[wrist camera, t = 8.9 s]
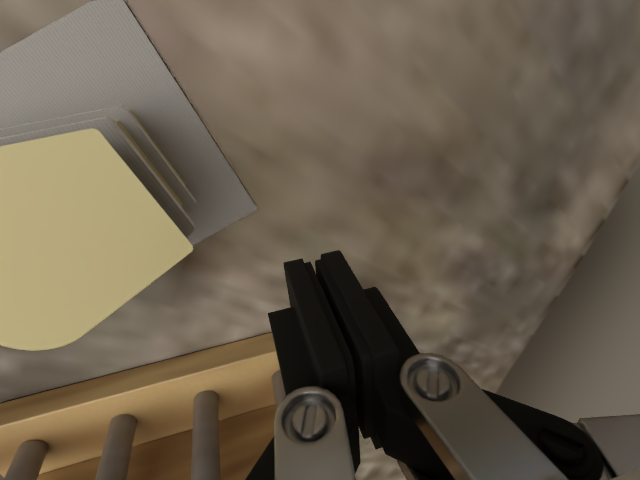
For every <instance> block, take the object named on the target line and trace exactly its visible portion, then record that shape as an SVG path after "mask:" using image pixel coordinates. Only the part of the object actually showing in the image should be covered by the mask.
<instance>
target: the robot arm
mask: <svg viewBox="0 0 640 480" xmlns="http://www.w3.org/2000/svg"><path fill="white" fill-rule="evenodd" d="M315 267H316V273H315V271H314V269H313V266H312V264H311V262H307V263H304V261H303V259H298V260H293V261H289V262H284V270H285V276H286V282H287V288H288V294H289V300H290V306H291V308H287V309H283V310H279V311H275V312H271V313H268V316H269V321H270V325H271V330H272V335H273V339H274V344H275V348H276V353H277V358H278V362H279V367H280V371H281V376H282V380H283V385H284V390H285V394H286V397H285V398H284V399H283V400H282V401H281V402H280V404H279V406H278V408H277V410H276V413H275V420H274V437H273V438H272V440H271V441H270V443H269V444H268V446H267V447H266V449H265V450H264V452H263V453H262V455H261V456H260V458H259V459H258V461H257V462H256V464H255V465H254V467H253V468H252V470H251V471H250V473H249V474H248V476H247V477H246V479H245V480H356V477H355V473H356V471H357V469H358V466H359V464H360V446H359V428H360V431H361V433H362V436H363V438H364V439H366V438H369V437H371V439H372V442H373V444H374V447H375V449H378V448H382V447H383V449H384V452H385V454H387V455H389V456H391V457H393V458H395V459H397V461H398V464H399V466H400V468H401V470H402V472H403V474H404V475H405V477H406V479H407V480H640V414H636V415H622V416H607V417H593V418H580V419H579V421H578V423H571V422H568V421H566V420H565V419H562V418H560V417H557V416H555V415H552V414H549V413H546V412H544V411H541V410H538V409H535V408H533V407H530V406H527V405H525V404H521V403H519V402H516V401H514V400H511V399H508V398H505V397H503V396H500V395H497V394H494V393H492V392H489V391H486V390H483V389H481V388H480V387H479V386H478V385H477V384H476V383H475V382H474V381H473V380H472V379H471V378H470V377H469V376H468V375H467V374H466V372H465V371H464V370H463V369H462V368H461V367H460V366H459V365H457V364H456V363H455V362H454V361H452V360H451V359H449V358H447V357H445V356H443V355H439V354H434V353H421V354H420V353H419V352H418V350H417V348H416V347H415V345H414V344H413V342H412V341H411V339H410V338H409V336H408V335H407V333H406V331H405V330H404V328H403V327H402V325H401V324H400V322H399V321H398V319H397V318H396V316H395V314H394V313H393V311H392V310H391V308H390V307H389V305H388V304H387V302H386V301H385V299H384V297H383V296H382V294H381V293H380V291H379V290H378V289H377V288H376V287H372V288H368V289H364V290H363V288H362V287H361V285H360V283H359V282H358V280H357V278H356V277H355V275H354V273H353V272H352V270H351V268H350V266H349V265H348V263H347V261H346V260H345V258H344V256H343V255H342V253H341V251H339V250H338V251H333V252H329V253H325V254H321V259H320V260H316V261H315Z"/></svg>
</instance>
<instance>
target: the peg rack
mask: <svg viewBox="0 0 640 480" xmlns="http://www.w3.org/2000/svg"><path fill="white" fill-rule="evenodd" d="M285 397H286V394H285V390H284V385H283V380H282V376H281V371H280V367H279V362H278V358H277V353H276V348H275V344H274V339H273V335H272V332H271V333H268V334H264V335H260V336H256V337H252V338H249V339H245V340H241V341H237V342H233V343H229V344H226V345H222V346H218V347H214V348H210V349H206V350H203V351H199V352H195V353H191V354H187V355H184V356H180V357H176V358H172V359H168V360H164V361H161V362H157V363H153V364H149V365H145V366H141V367H138V368H134V369H130V370H126V371H122V372H119V373H115V374H111V375H107V376H103V377H99V378H96V379H92V380H88V381H84V382H80V383H76V384H73V385H69V386H65V387H61V388H57V389H54V390H50V391H46V392H42V393H38V394H34V395H31V396H27V397H23V398H19V399H15V400H11V401H8V402H4V403H0V474H1V475H2V476H3V478H4V480H245V479H246V477H247V476H248V474H249V473H250V471H251V470H252V468H253V467H254V465H255V464H256V462H257V461H258V459H259V458H260V456H261V455H262V453H263V452H264V450H265V449H266V447H267V446H268V444H269V443H270V441H271V440H272V438H273V437H274V420H275V413H276V410H277V408H278V406H279V404H280V402H281V401H282V400H283V399H284V398H285Z"/></svg>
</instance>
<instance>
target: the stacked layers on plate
mask: <svg viewBox="0 0 640 480" xmlns="http://www.w3.org/2000/svg"><path fill="white" fill-rule="evenodd" d="M256 210H257V207H256V206H255V204H254V202H253V201H252V199H251V198H250V196H249V195H248V193H247V192H246V190H245V188H244V187H243V185H242V184H241V182H240V181H239V179H238V178H237V176H236V174H235V173H234V171H233V170H232V168H231V167H230V165H229V164H228V162H227V160H226V159H225V157H224V156H223V154H222V153H221V151H220V150H219V148H218V146H217V145H216V143H215V142H214V140H213V139H212V137H211V136H210V134H209V132H208V131H207V129H206V128H205V126H204V125H203V123H202V122H201V120H200V118H199V117H198V115H197V114H196V112H195V111H194V109H193V108H192V106H191V104H190V103H189V101H188V100H187V98H186V97H185V95H184V94H183V92H182V91H181V89H180V87H179V86H178V84H177V83H176V81H175V80H174V78H173V77H172V75H171V73H170V72H169V70H168V69H167V67H166V66H165V64H164V63H163V61H162V59H161V58H160V56H159V55H158V53H157V52H156V50H155V49H154V47H153V45H152V44H151V42H150V41H149V39H148V38H147V36H146V35H145V33H144V31H143V30H142V28H141V27H140V25H139V24H138V22H137V21H136V19H135V17H134V16H133V14H132V13H131V11H130V10H129V8H128V7H127V5H126V3H125V2H124V0H92V1H91V2H89V3H87V4H85V5H83V6H82V7H80V8H78V9H76V10H75V11H73V12H71V13H69V14H67V15H66V16H64V17H62V18H60V19H59V20H57V21H55V22H53V23H51V24H50V25H48V26H46V27H44V28H42V29H41V30H39V31H37V32H35V33H34V34H32V35H30V36H28V37H26V38H25V39H23V40H21V41H19V42H17V43H16V44H14V45H12V46H10V47H9V48H7V49H5V50H3V51H1V52H0V345H2V346H5V347H9V348H14V349H21V350H46V349H52V348H57V347H61V346H64V345H67V344H69V343H71V342H73V341H75V340H77V339H79V338H80V337H81V336H83V335H84V334H85V333H87V332H88V331H89V330H91V329H92V328H93V327H94V326H96V325H97V324H98V323H100V322H101V321H102V320H104V319H105V318H106V317H107V316H109V315H110V314H111V313H113V312H114V311H115V310H117V309H118V308H119V307H120V306H122V305H123V304H124V303H126V302H127V301H128V300H130V299H131V298H132V297H134V296H135V295H136V294H137V293H139V292H140V291H141V290H143V289H144V288H145V287H147V286H148V285H149V284H150V283H152V282H153V281H154V280H156V279H157V278H158V277H160V276H161V275H162V274H163V273H165V272H166V271H167V270H169V269H170V268H171V267H173V266H174V265H175V264H176V263H178V262H179V261H180V260H182V259H183V258H184V257H186V256H187V255H188V254H190V253H191V252H192V251H193V246H194V245H195V244H197V243H199V242H201V241H202V240H204V239H206V238H208V237H209V236H211V235H213V234H215V233H217V232H218V231H220V230H222V229H224V228H225V227H227V226H229V225H231V224H233V223H234V222H236V221H238V220H240V219H241V218H243V217H245V216H247V215H249V214H250V213H252V212H254V211H256Z"/></svg>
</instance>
